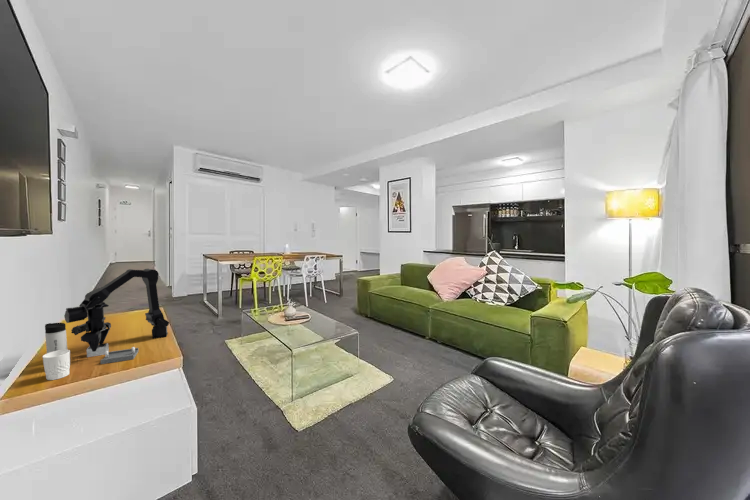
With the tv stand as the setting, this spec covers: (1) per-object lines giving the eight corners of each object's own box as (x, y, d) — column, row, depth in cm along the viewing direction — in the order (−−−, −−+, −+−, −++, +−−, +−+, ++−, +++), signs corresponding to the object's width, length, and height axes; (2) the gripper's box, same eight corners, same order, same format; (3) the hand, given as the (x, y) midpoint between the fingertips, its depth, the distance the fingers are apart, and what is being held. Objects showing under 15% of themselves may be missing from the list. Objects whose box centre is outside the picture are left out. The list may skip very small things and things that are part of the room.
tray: (138, 351, 149) (138, 343, 149) (133, 359, 141) (133, 350, 140) (107, 356, 144) (107, 347, 143) (100, 364, 135) (100, 355, 135)
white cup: (75, 373, 127) (74, 351, 126) (50, 382, 119) (49, 358, 119) (65, 370, 129) (63, 348, 129) (39, 378, 122) (38, 355, 121)
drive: (108, 351, 149) (108, 342, 149) (105, 354, 146) (105, 345, 145) (90, 353, 146) (89, 345, 146) (87, 357, 142) (86, 348, 142)
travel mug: (57, 363, 135) (53, 321, 134) (72, 363, 136) (69, 321, 134) (42, 370, 129) (39, 326, 127) (59, 370, 130) (55, 326, 128)
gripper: (81, 314, 149) (84, 343, 150) (64, 325, 132) (66, 358, 134) (110, 311, 154) (112, 340, 155) (97, 322, 138) (99, 354, 139)
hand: (97, 347), depth 146 cm, fingers open, 9 cm apart
